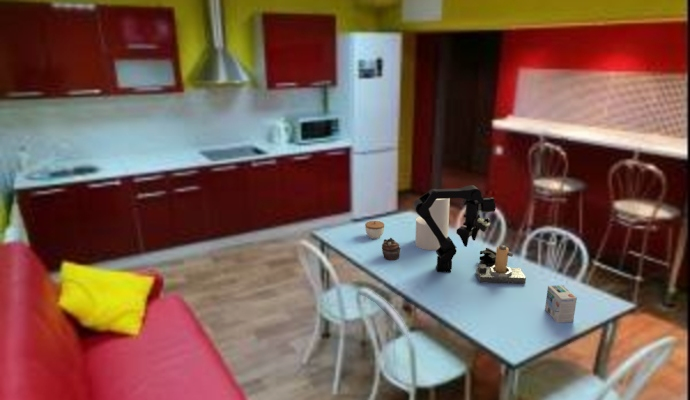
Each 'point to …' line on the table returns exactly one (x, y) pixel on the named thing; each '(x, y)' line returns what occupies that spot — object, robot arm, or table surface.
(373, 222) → the lidded jar
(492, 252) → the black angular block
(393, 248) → the cupcake
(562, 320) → the light bulb box
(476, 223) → the robot arm
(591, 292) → the table surface
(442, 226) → the cylinder
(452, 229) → the table surface
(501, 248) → the tan bottle
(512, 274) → the motor base
